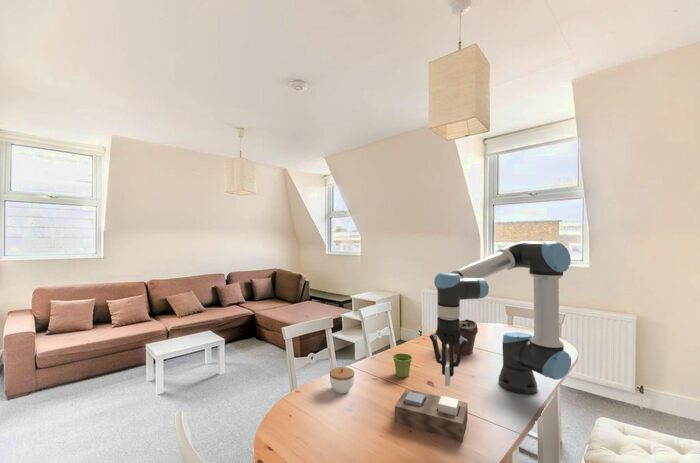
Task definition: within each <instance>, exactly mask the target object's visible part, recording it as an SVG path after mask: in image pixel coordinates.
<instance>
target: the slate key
mask: <svg viewBox="0 0 700 463" xmlns="http://www.w3.org/2000/svg"><path fill="white" fill-rule="evenodd" d="M405 403H407V404H411V405H415V406H418V407H423V405H424V403H425V395H422V394H418V393H413V392H409V393H408V395H407V396H406V398H405Z"/></svg>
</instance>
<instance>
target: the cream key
mask: <svg viewBox="0 0 700 463" xmlns="http://www.w3.org/2000/svg"><path fill="white" fill-rule="evenodd" d="M440 397H441V398H440V400H439V403H438V412H442V413H446V414H450V415H454V416H457V415H458V412H459V401H460V400H459V399H458V398H454V397H450V396H445V395H441V396H440Z"/></svg>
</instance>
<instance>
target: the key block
mask: <svg viewBox="0 0 700 463" xmlns="http://www.w3.org/2000/svg"><path fill="white" fill-rule="evenodd" d="M409 392H413V393H418V394H422V395H425V403H424V405H423V407H418V406H415V405H411V404H407V403H405V398H406V396H407V395H408V393H409ZM440 398H441V396H439V395H435V394H430V393H426V392H421V391H418V390H414V389H409V388H405V389H404V391H403V393H402V394H401V396H400V397H399V399H398V400H397V402H396V403H395V405H394V424H399V425H401V426H405V427H408V428H412V429H415V430H419V431H422V432H425V433H429V434H433V435H436V436H440V437H443V438H446V439H449V440H453V441H456V442H460V443H463V442H464V438H465V435H466V434H465V432H466V428H467V424H468V414H469V413H468V412H469V411H468V402H465V401H461V400H459V412H458V415H457V416H454V415H450V414H446V413H442V412H438V403H439V400H440Z"/></svg>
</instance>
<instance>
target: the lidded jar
mask: <svg viewBox="0 0 700 463" xmlns="http://www.w3.org/2000/svg"><path fill="white" fill-rule="evenodd" d="M329 382H330V385H331V388H332V390H334V392H335V393H337V394H341V395H343V394H346V393H348V392H349V391H350V390H351V388H352V387H353V385H354V383H355V370H354V369H352V368H350V367H347V366H338V367H335V368H332V369H331V370H330V371H329Z"/></svg>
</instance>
